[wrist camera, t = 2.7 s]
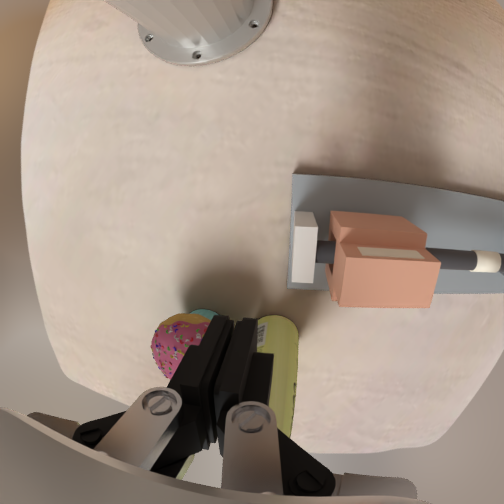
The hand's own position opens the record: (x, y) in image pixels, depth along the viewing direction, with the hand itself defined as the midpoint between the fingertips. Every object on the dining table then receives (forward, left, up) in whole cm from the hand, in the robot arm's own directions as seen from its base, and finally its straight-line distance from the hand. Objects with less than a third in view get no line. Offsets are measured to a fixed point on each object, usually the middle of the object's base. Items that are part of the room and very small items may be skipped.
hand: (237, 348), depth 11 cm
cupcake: (+10, -6, -16) cm, 20 cm away
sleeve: (-1, +8, -13) cm, 15 cm away
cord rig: (-1, +15, -15) cm, 22 cm away
